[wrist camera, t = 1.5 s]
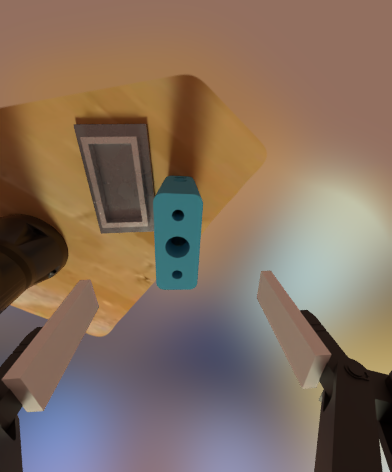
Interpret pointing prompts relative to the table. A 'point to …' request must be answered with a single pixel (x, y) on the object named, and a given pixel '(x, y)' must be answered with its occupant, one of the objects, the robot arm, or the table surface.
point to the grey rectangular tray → (118, 175)
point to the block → (177, 233)
